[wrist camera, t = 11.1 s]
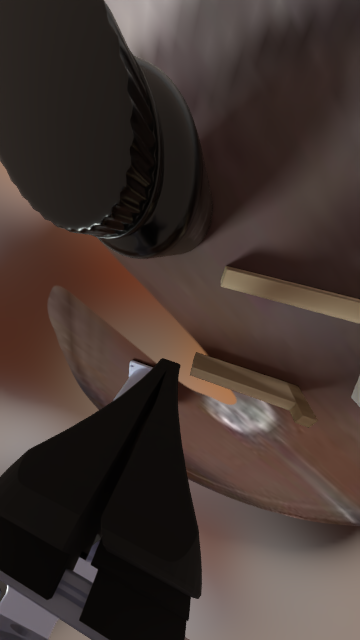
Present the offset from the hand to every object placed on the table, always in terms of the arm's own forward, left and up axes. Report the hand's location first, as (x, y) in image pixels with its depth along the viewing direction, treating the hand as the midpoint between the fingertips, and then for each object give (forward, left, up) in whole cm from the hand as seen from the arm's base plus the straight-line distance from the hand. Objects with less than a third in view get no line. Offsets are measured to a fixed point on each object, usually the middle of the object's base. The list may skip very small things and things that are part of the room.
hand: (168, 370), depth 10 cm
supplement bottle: (+10, +4, -10) cm, 14 cm away
